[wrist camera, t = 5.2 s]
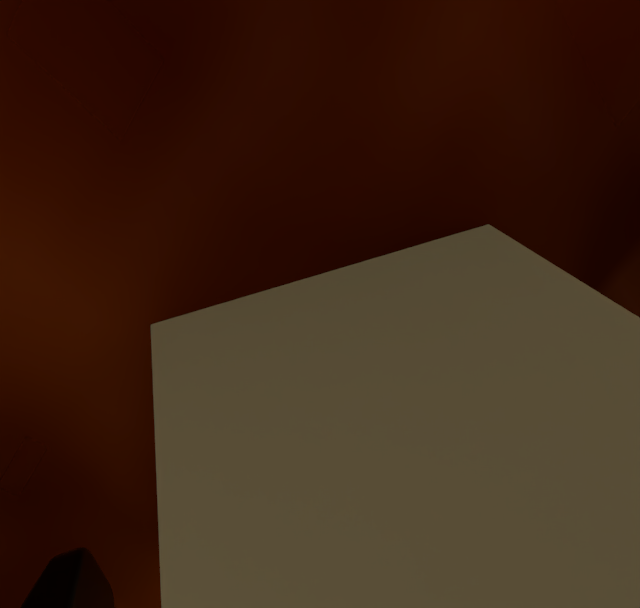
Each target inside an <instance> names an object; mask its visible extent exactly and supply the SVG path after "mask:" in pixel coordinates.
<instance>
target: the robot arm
mask: <svg viewBox="0 0 640 608" xmlns="http://www.w3.org/2000/svg"><path fill="white" fill-rule="evenodd" d="M20 608H115V607H114V598H113V593H112V589H111V587H110V584H109V582H108V580H107V579H106V577H105V575H104V574H103V572H102V571H101V569H100V567H99V566H98V564H97V562H96V561H95V559H94V557H93V556H92V554H91V553H90V551H89V550H88V549H86V548H84V547H82V548H77V549H74V550H71V551H69V552H66V553H63V554H60V555H57V556H55V557H54V558H52V559H51V560H50V561H49V563H48V564H47V566H46V567H45V569H44V570H43V572H42V574H41V575H40V577H39V579H38V580H37V582H36V583H35V585H34V587H33V588H32V590H31V591H30V593H29V595H28V596H27V598H26V599H25V601H24V603H23V604H22V606H21V607H20Z"/></svg>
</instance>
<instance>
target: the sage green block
mask: <svg viewBox="0 0 640 608" xmlns="http://www.w3.org/2000/svg"><path fill="white" fill-rule="evenodd" d="M151 349H152V375H153V401H154V427H155V453H156V479H157V505H158V531H159V557H160V583H161V608H640V318H639V317H638V316H636V315H635V314H633V313H631V312H630V311H628V310H627V309H625V308H623V307H622V306H620V305H618V304H617V303H615V302H614V301H612V300H610V299H609V298H607V297H606V296H604V295H602V294H601V293H599V292H597V291H596V290H594V289H593V288H591V287H589V286H588V285H586V284H585V283H583V282H581V281H580V280H578V279H576V278H575V277H573V276H572V275H570V274H568V273H567V272H565V271H564V270H562V269H560V268H559V267H557V266H555V265H554V264H552V263H551V262H549V261H547V260H546V259H544V258H543V257H541V256H539V255H538V254H536V253H534V252H533V251H531V250H530V249H528V248H526V247H525V246H523V245H522V244H520V243H518V242H517V241H515V240H513V239H512V238H510V237H509V236H507V235H505V234H504V233H502V232H500V231H499V230H497V229H496V228H494V227H492V226H491V225H489V224H487V225H484V226H481V227H477V228H474V229H471V230H467V231H464V232H460V233H457V234H454V235H450V236H447V237H444V238H440V239H437V240H433V241H430V242H427V243H423V244H420V245H417V246H413V247H410V248H407V249H403V250H400V251H396V252H393V253H390V254H386V255H383V256H380V257H376V258H373V259H369V260H366V261H363V262H359V263H356V264H353V265H349V266H346V267H343V268H339V269H336V270H332V271H329V272H326V273H322V274H319V275H316V276H312V277H309V278H305V279H302V280H299V281H295V282H292V283H289V284H285V285H282V286H279V287H275V288H272V289H268V290H265V291H262V292H258V293H255V294H252V295H248V296H245V297H241V298H238V299H235V300H231V301H228V302H225V303H221V304H218V305H215V306H211V307H208V308H204V309H201V310H198V311H194V312H191V313H188V314H184V315H181V316H177V317H174V318H171V319H167V320H164V321H161V322H157V323H154V324H151Z"/></svg>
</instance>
